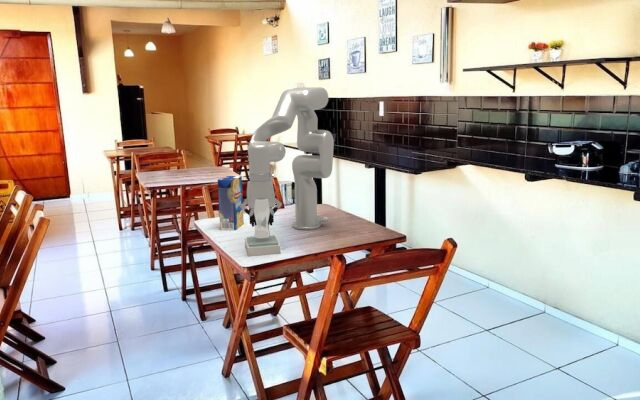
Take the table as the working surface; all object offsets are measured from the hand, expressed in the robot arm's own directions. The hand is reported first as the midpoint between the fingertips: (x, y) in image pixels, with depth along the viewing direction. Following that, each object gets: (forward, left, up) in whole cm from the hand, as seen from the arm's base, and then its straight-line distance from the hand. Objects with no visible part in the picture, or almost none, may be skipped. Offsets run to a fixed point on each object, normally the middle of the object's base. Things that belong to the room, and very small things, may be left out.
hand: (261, 224), depth 197 cm
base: (0, 0, -10) cm, 10 cm away
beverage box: (+9, -38, -10) cm, 40 cm away
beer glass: (0, 0, -5) cm, 5 cm away
